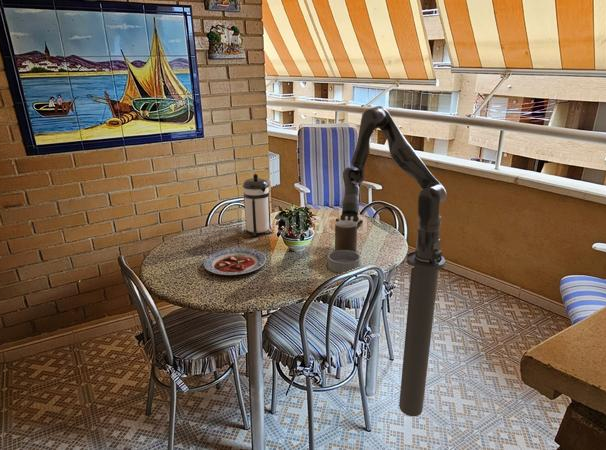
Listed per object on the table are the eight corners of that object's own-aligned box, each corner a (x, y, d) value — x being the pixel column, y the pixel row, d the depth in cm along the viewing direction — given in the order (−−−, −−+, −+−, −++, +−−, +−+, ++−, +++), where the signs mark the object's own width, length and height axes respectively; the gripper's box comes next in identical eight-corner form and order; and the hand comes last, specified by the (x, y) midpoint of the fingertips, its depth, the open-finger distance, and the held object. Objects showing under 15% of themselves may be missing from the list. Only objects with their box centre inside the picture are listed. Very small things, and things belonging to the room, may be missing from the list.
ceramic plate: (248, 283, 155) (248, 276, 154) (191, 273, 164) (190, 267, 163) (276, 257, 178) (276, 251, 177) (224, 249, 186) (224, 243, 185)
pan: (366, 266, 168) (367, 256, 167) (345, 276, 160) (345, 266, 159) (342, 256, 178) (343, 247, 176) (321, 266, 169) (321, 256, 168)
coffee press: (277, 227, 213) (275, 170, 203) (267, 238, 199) (265, 178, 188) (246, 225, 217) (242, 169, 207) (234, 235, 202) (230, 176, 192)
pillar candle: (349, 258, 176) (351, 226, 170) (330, 253, 181) (330, 222, 176) (360, 251, 183) (361, 219, 178) (341, 246, 188) (341, 215, 183)
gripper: (336, 200, 190) (332, 235, 183) (364, 202, 188) (362, 236, 181) (337, 208, 197) (333, 241, 190) (364, 209, 194) (362, 243, 187)
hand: (347, 239), depth 185 cm, fingers closed
